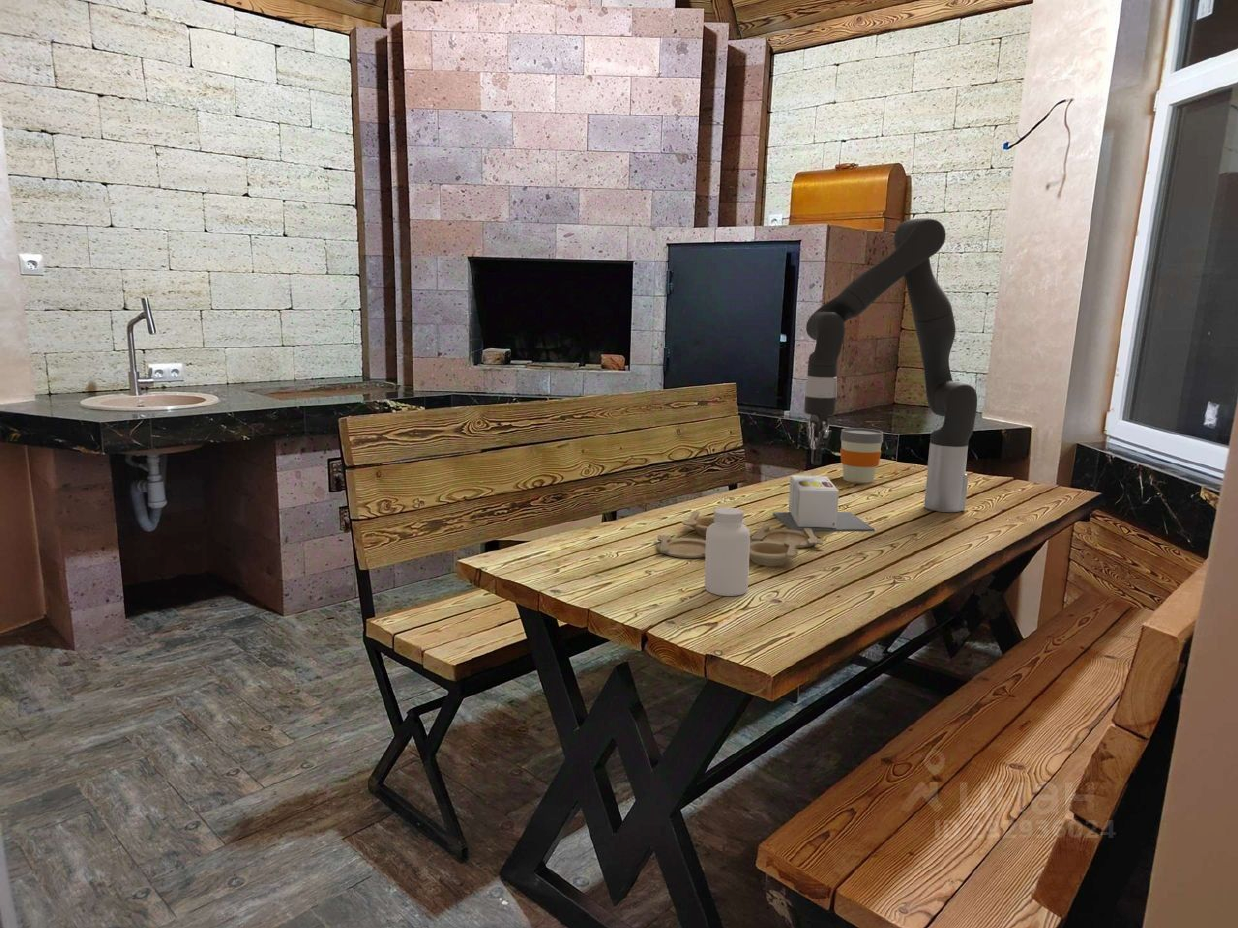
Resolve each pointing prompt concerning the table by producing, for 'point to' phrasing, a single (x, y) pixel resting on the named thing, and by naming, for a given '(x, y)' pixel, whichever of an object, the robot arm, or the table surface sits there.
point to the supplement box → (813, 501)
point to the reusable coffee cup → (860, 453)
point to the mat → (844, 523)
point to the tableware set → (764, 549)
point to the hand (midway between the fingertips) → (816, 464)
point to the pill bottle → (727, 553)
